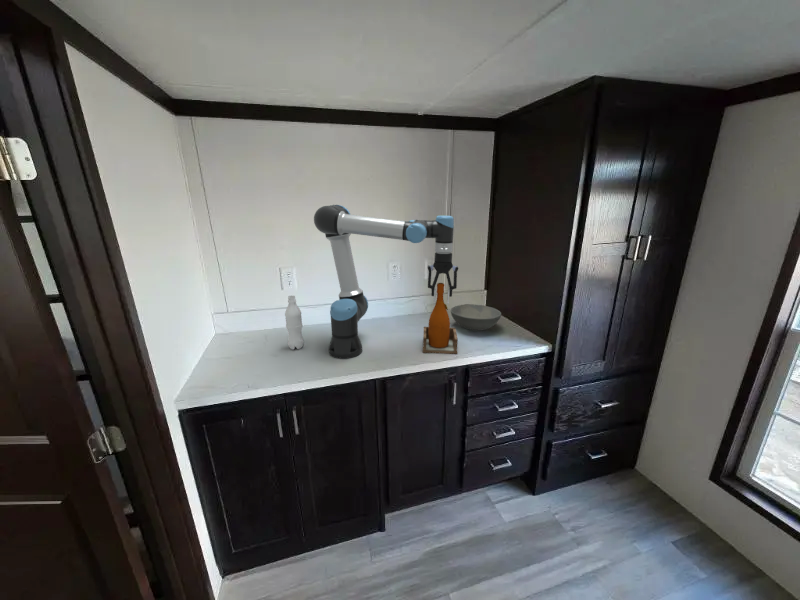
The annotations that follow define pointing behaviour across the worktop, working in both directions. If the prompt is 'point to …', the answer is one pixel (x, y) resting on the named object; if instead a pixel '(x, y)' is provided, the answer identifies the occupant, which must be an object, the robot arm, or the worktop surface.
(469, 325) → the bowl
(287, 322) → the water bottle
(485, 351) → the worktop surface
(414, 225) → the robot arm
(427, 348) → the walnut U-rest
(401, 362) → the worktop surface
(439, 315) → the wine bottle
